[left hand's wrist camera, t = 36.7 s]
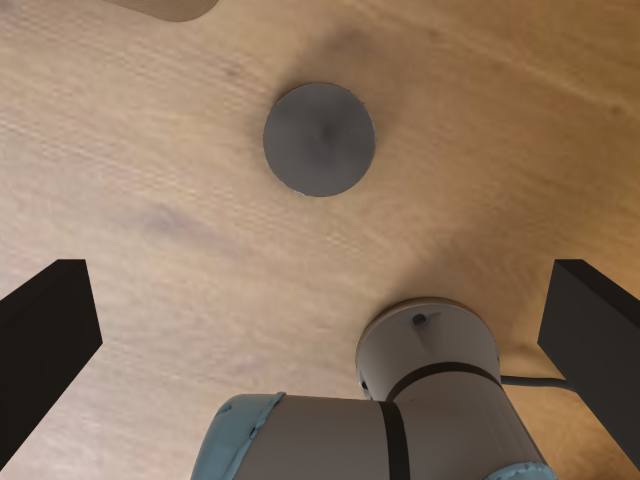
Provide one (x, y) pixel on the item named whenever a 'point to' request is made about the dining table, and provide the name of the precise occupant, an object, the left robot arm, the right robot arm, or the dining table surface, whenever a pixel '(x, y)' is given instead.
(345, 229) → the dining table surface
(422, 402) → the left robot arm
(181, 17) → the jar
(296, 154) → the lid
